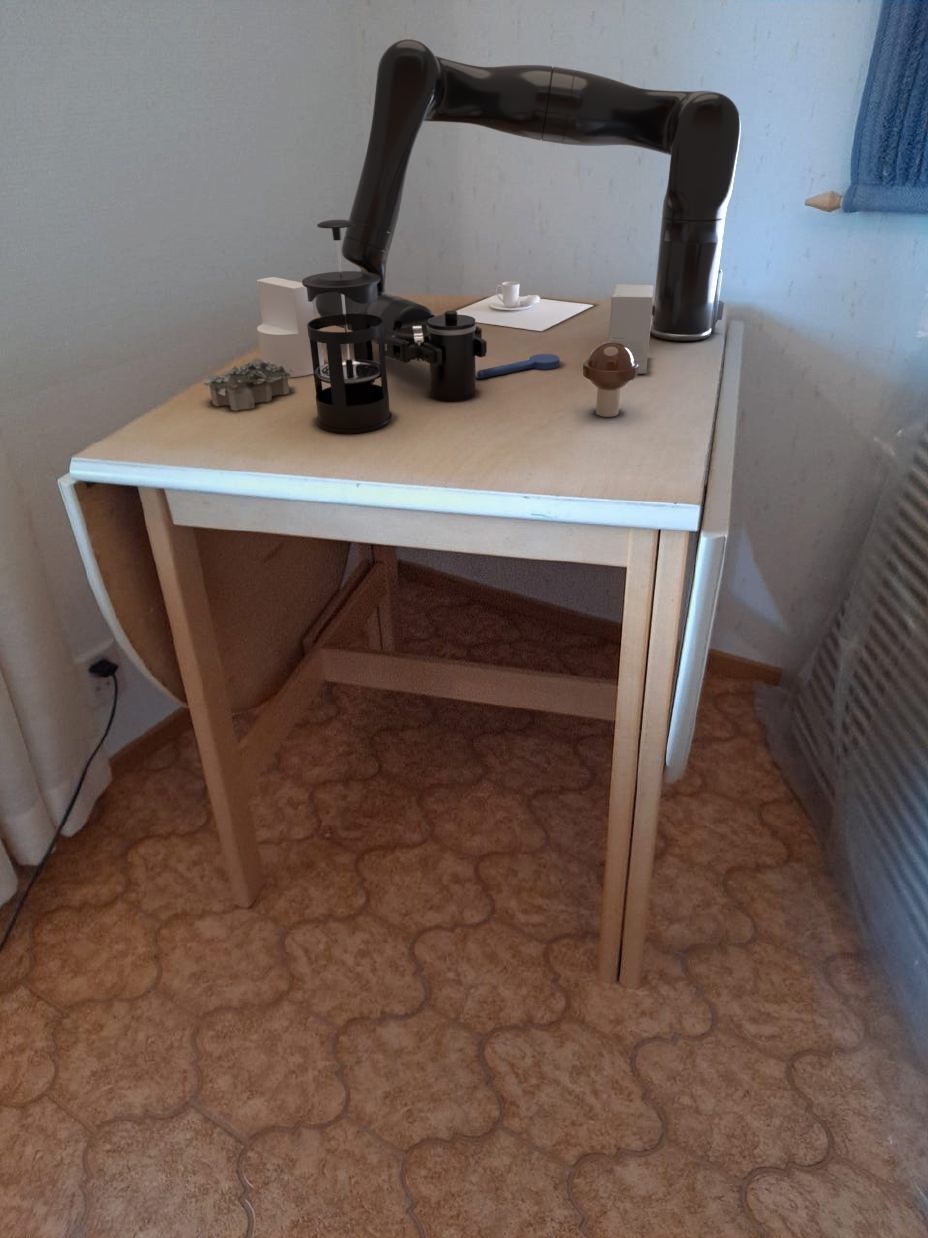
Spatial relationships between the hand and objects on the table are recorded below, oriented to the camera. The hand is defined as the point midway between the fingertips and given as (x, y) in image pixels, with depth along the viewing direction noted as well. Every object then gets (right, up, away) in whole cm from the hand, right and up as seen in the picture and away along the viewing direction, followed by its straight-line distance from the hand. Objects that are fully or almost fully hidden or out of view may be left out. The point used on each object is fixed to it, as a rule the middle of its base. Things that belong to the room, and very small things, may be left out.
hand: (462, 353), depth 111 cm
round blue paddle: (+8, +2, +13) cm, 16 cm away
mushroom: (+18, -8, -2) cm, 20 cm away
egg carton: (-29, -4, +6) cm, 30 cm away
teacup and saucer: (+10, +20, +42) cm, 48 cm away
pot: (-1, -4, +5) cm, 6 cm away
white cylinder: (-25, +3, +17) cm, 30 cm away
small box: (+24, +2, +14) cm, 28 cm away
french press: (-13, -9, -2) cm, 16 cm away
